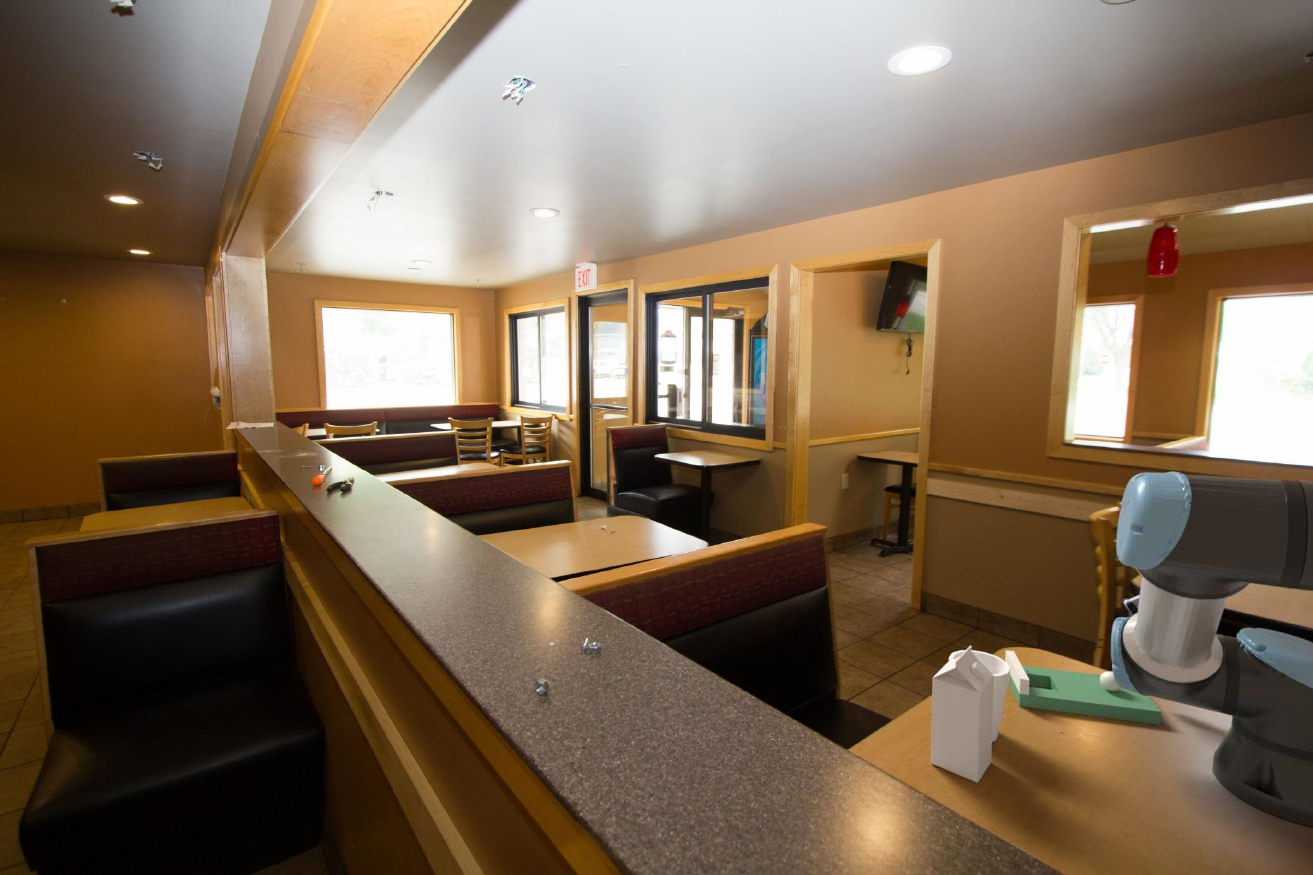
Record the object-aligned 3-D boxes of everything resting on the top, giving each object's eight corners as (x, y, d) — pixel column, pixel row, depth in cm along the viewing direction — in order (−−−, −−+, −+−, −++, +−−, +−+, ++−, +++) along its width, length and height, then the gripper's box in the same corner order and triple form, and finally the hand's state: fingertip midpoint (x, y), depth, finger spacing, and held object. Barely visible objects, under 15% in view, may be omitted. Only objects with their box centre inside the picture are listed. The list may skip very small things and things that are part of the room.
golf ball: (1125, 696, 111) (1126, 678, 110) (1103, 693, 112) (1104, 675, 111) (1118, 686, 114) (1119, 669, 114) (1096, 684, 115) (1097, 666, 115)
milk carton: (930, 764, 97) (932, 654, 95) (946, 744, 102) (948, 639, 100) (977, 784, 92) (981, 668, 90) (991, 762, 97) (995, 652, 95)
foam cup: (946, 739, 104) (948, 669, 102) (948, 712, 112) (949, 646, 110) (1009, 754, 99) (1012, 680, 98) (1006, 724, 107) (1008, 656, 106)
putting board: (1160, 724, 106) (1162, 695, 105) (1019, 706, 113) (1020, 678, 112) (1131, 690, 117) (1132, 663, 116) (1004, 675, 124) (1005, 650, 124)
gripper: (1202, 563, 109) (1194, 684, 112) (1117, 557, 113) (1111, 674, 116) (1225, 576, 102) (1216, 705, 105) (1134, 570, 106) (1126, 694, 109)
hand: (1160, 689), depth 110 cm, fingers closed
